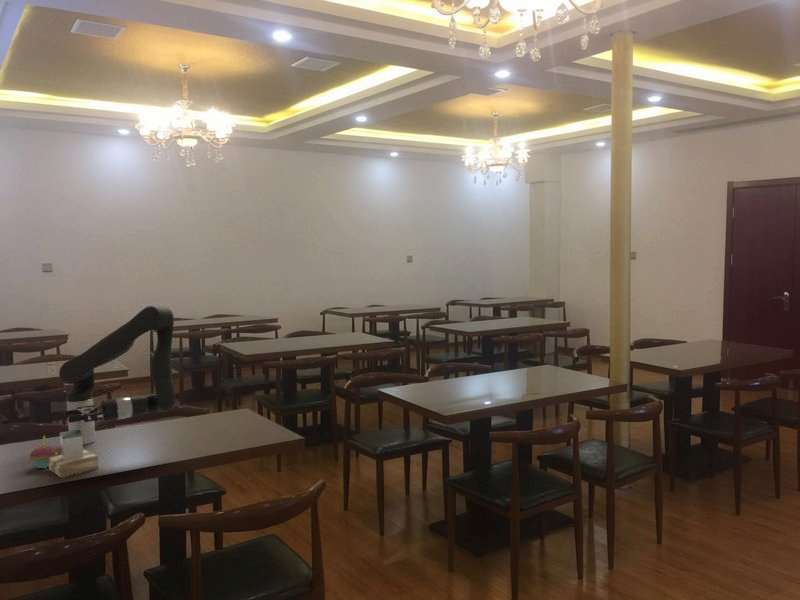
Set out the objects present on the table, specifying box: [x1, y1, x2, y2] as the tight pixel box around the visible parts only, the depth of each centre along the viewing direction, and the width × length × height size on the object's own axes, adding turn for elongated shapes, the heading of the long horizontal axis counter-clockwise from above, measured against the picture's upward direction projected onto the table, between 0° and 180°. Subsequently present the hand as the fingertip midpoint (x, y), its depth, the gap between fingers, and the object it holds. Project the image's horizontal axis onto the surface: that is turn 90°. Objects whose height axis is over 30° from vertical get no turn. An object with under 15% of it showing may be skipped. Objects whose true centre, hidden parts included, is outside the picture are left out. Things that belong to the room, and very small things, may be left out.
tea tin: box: [59, 429, 84, 461], centre depth 222 cm, size 6×6×8 cm
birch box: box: [48, 448, 99, 478], centre depth 223 cm, size 12×12×5 cm
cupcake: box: [29, 434, 58, 469], centre depth 226 cm, size 9×8×12 cm
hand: (66, 416), depth 221 cm, fingers open, 8 cm apart
